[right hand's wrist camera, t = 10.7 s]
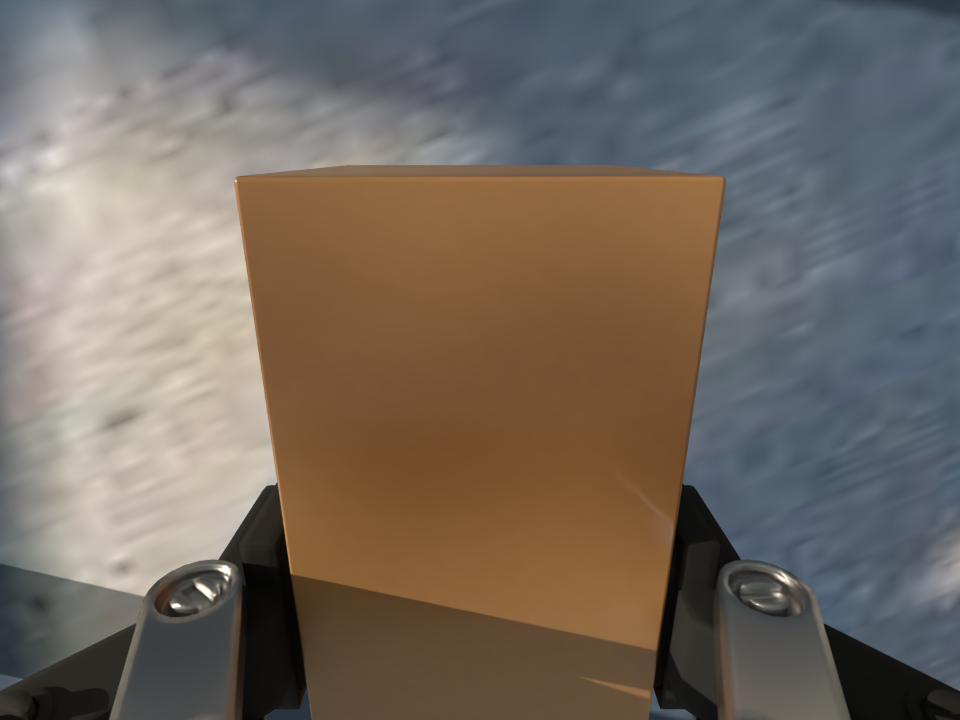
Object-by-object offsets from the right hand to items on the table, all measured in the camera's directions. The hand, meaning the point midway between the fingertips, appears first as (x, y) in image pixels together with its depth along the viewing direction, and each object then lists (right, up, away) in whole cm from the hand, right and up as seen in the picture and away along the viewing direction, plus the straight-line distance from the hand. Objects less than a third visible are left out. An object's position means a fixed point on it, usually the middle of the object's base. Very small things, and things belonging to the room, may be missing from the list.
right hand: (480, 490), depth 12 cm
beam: (0, -28, +12) cm, 31 cm away
